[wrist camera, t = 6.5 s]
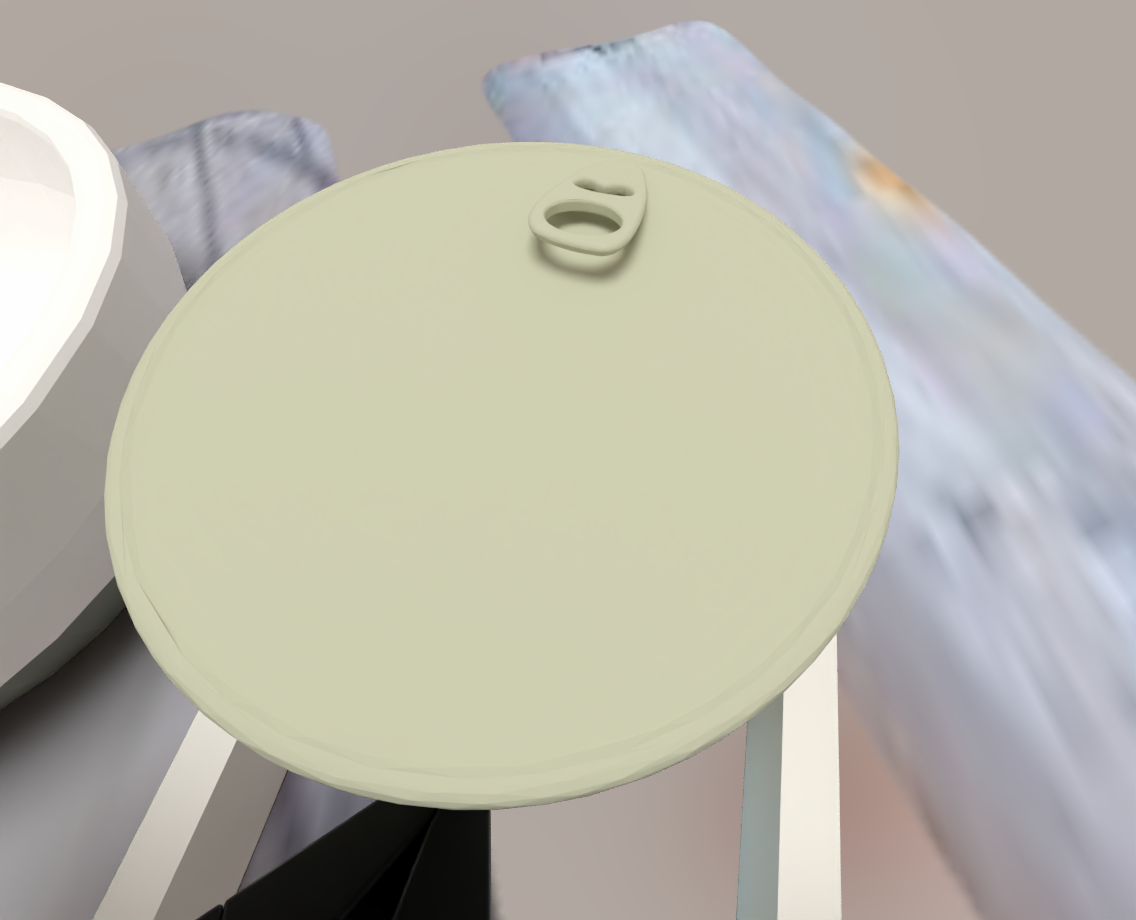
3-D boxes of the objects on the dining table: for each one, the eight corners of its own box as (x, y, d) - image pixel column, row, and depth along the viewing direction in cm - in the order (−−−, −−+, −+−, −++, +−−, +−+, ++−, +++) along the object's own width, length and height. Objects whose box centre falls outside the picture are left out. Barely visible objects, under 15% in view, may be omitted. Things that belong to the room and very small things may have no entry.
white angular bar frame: (783, 1164, 11) (920, 1447, 6) (161, 951, 13) (-64, 1057, 8) (798, 424, 19) (861, 328, 15) (425, 362, 21) (384, 260, 17)
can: (735, 524, 17) (963, 180, 7) (646, 838, 13) (868, 1137, 3) (487, 435, 19) (373, 62, 9) (343, 687, 15) (-174, 545, 5)
